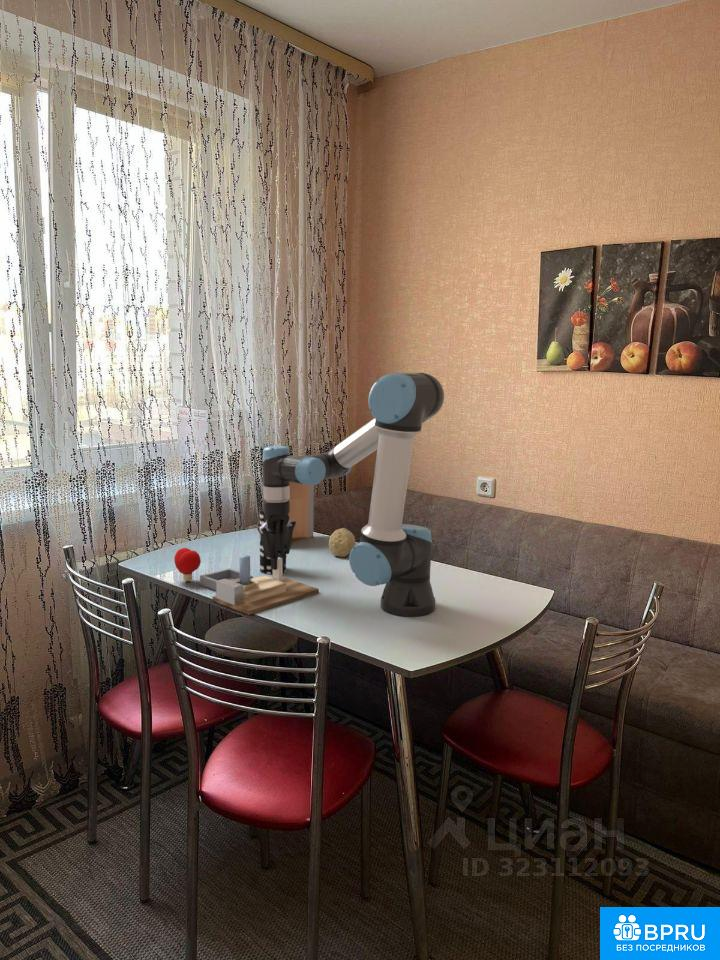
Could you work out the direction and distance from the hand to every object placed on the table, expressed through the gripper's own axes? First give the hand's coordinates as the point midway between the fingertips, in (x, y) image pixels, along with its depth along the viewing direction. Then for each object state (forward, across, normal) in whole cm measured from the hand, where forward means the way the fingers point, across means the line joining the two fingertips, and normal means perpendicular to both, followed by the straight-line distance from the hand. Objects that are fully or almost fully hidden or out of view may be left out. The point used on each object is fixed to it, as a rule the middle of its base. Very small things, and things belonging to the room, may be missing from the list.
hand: (277, 579), depth 212 cm
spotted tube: (+4, -12, -16) cm, 21 cm away
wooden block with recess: (+2, +8, 0) cm, 8 cm away
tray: (+3, +8, -14) cm, 17 cm away
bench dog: (+2, +17, 0) cm, 17 cm away
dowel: (0, +12, 0) cm, 12 cm away
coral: (+4, -40, -13) cm, 43 cm away
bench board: (+4, +6, +2) cm, 7 cm away
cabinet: (+3, -41, -41) cm, 58 cm away
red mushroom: (+3, +13, -26) cm, 29 cm away
